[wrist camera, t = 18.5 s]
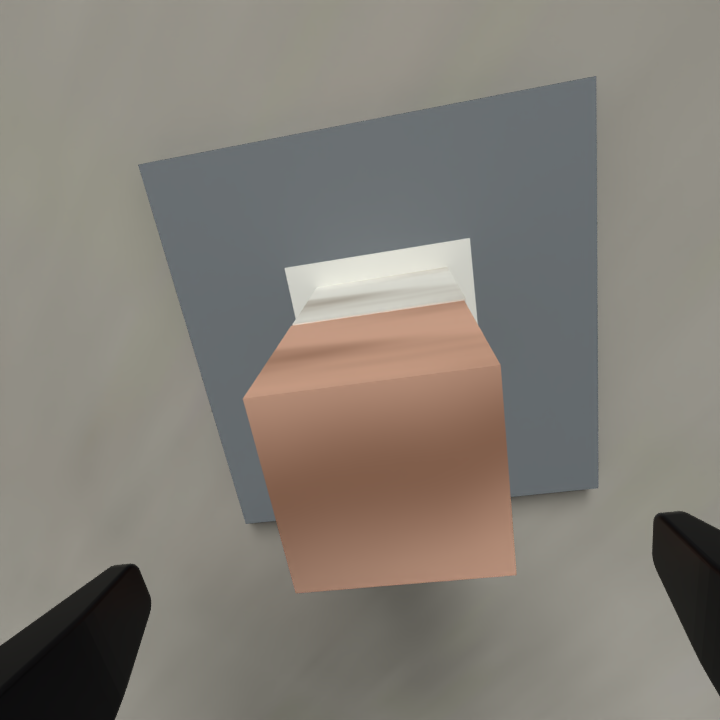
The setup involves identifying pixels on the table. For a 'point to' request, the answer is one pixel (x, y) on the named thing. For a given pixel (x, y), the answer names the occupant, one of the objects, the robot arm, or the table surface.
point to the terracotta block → (386, 450)
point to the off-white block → (381, 295)
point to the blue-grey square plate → (404, 256)
